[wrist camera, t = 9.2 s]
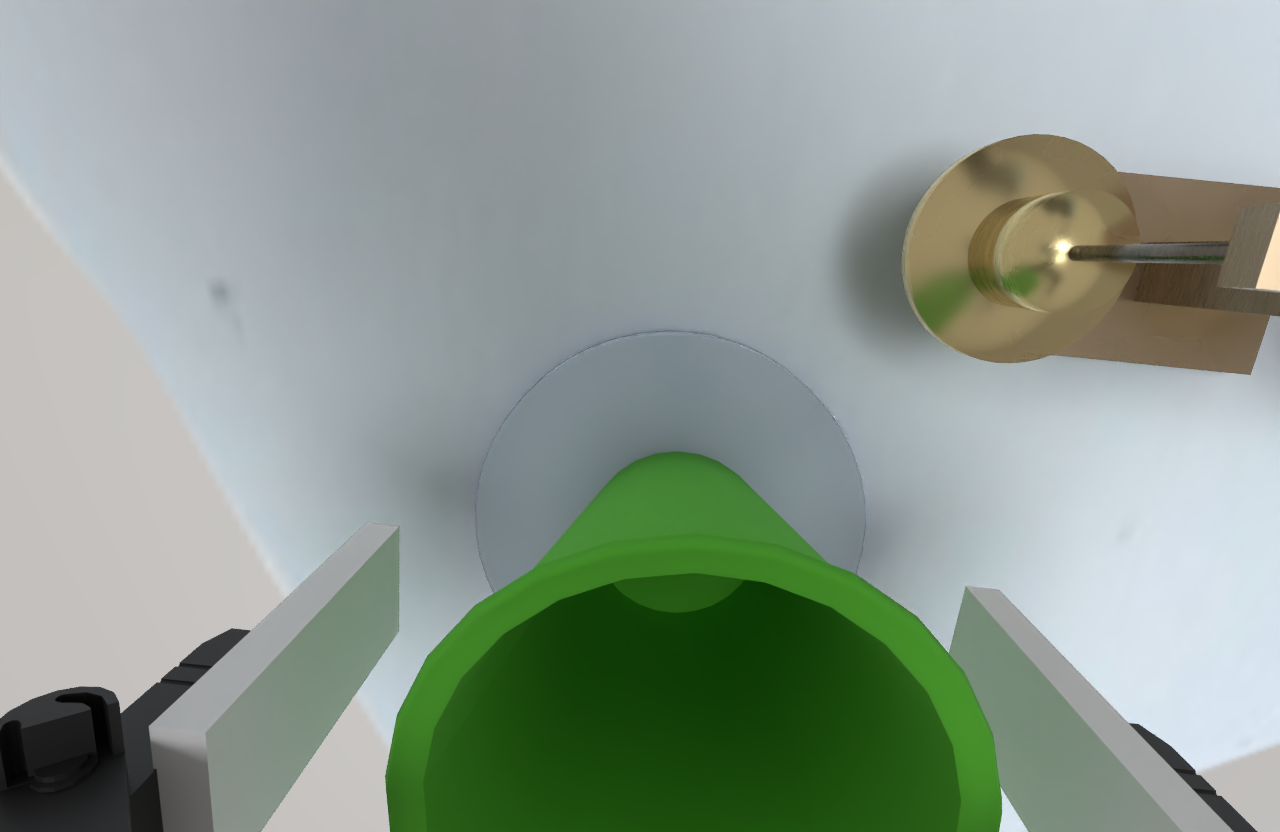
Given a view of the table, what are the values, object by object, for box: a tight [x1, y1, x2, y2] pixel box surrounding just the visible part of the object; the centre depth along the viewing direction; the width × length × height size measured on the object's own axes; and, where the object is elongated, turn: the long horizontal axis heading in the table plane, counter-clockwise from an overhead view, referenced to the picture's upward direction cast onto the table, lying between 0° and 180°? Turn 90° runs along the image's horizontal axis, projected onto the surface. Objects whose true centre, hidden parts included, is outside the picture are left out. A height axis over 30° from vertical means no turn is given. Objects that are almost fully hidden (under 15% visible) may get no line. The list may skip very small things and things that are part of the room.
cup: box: [385, 451, 1002, 832], centre depth 15 cm, size 9×9×11 cm
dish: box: [475, 331, 865, 593], centre depth 21 cm, size 12×12×1 cm
